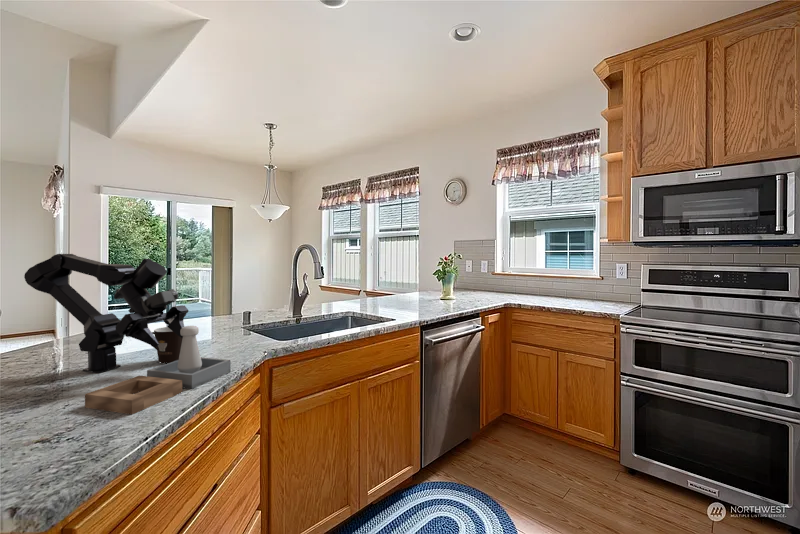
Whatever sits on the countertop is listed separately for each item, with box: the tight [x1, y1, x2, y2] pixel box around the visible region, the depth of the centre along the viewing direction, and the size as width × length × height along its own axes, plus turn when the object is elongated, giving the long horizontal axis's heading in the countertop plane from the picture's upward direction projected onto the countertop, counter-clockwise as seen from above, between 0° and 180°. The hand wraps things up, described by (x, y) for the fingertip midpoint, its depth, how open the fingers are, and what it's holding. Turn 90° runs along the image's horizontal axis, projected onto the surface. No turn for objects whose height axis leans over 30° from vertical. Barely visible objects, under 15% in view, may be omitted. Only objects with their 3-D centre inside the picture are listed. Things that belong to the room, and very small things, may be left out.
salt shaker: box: [177, 325, 202, 374], centre depth 102 cm, size 6×6×13 cm
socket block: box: [84, 375, 183, 415], centre depth 87 cm, size 13×13×3 cm
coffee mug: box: [150, 326, 182, 364], centre depth 119 cm, size 12×9×10 cm
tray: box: [146, 356, 232, 390], centre depth 102 cm, size 14×14×4 cm
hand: (172, 341), depth 104 cm, fingers open, 9 cm apart
